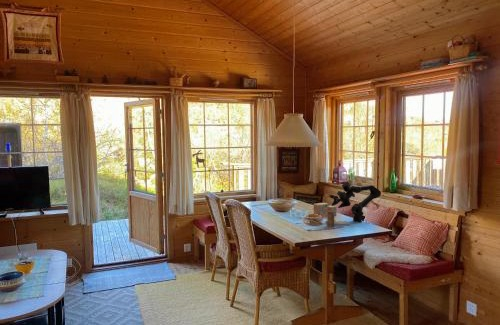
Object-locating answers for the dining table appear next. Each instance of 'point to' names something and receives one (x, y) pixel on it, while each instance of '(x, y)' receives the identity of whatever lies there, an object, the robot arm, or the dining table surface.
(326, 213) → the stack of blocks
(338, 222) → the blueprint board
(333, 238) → the dining table surface
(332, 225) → the walnut pillar
